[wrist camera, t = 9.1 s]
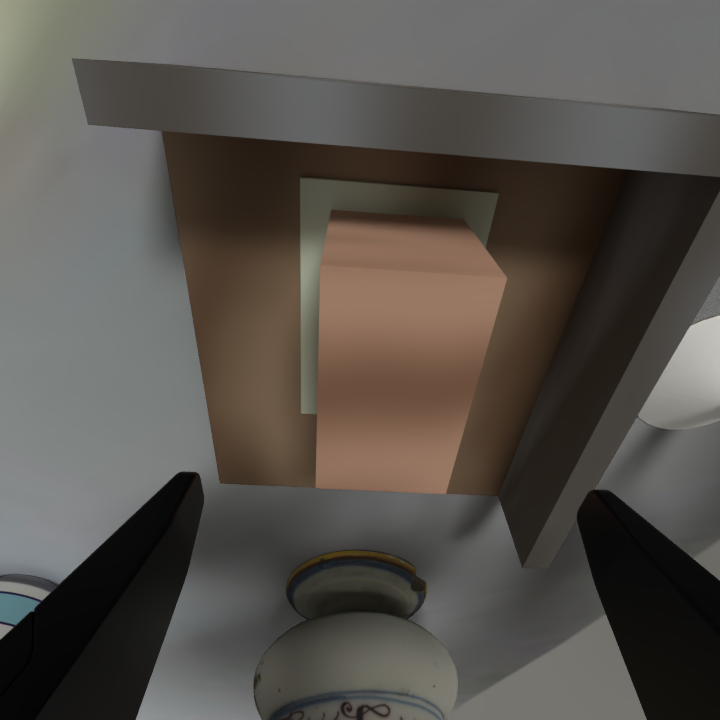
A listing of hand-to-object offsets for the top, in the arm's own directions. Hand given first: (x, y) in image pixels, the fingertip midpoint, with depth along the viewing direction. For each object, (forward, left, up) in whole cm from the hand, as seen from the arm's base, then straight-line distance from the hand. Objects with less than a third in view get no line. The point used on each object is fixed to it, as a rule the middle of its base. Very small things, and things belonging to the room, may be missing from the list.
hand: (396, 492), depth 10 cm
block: (0, 0, -8) cm, 8 cm away
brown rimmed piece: (-1, +1, -9) cm, 10 cm away
